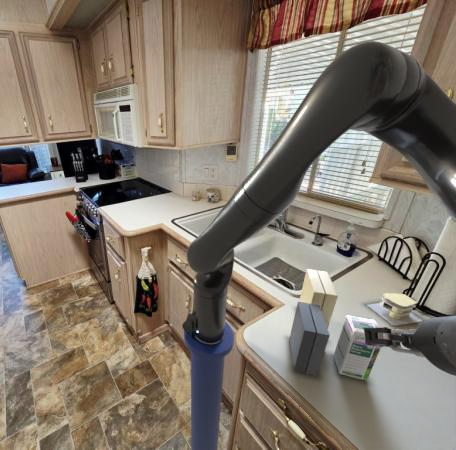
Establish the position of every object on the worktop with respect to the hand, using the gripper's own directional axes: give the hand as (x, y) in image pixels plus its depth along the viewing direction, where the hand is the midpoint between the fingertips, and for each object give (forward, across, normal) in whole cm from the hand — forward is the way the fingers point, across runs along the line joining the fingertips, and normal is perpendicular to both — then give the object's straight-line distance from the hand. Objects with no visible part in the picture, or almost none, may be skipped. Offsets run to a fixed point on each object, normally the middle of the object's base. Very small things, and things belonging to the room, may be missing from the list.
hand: (398, 343), depth 45 cm
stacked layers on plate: (+39, -20, -12) cm, 45 cm away
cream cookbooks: (+31, +6, -4) cm, 32 cm away
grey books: (+23, +10, +6) cm, 26 cm away
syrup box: (+23, 0, +6) cm, 23 cm away
